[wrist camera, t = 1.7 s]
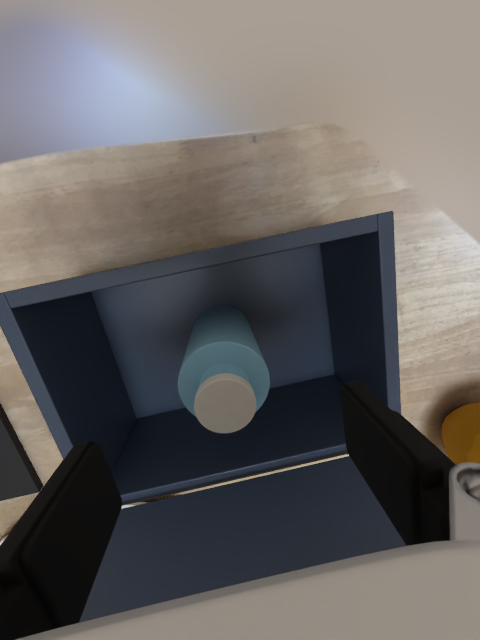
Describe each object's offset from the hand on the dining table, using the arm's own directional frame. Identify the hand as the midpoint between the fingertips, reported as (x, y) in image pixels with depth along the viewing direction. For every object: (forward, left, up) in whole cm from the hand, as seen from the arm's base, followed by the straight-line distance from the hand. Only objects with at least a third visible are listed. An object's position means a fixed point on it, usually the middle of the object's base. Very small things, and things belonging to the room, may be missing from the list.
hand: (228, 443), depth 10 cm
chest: (0, 0, -13) cm, 13 cm away
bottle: (0, 0, -13) cm, 13 cm away
